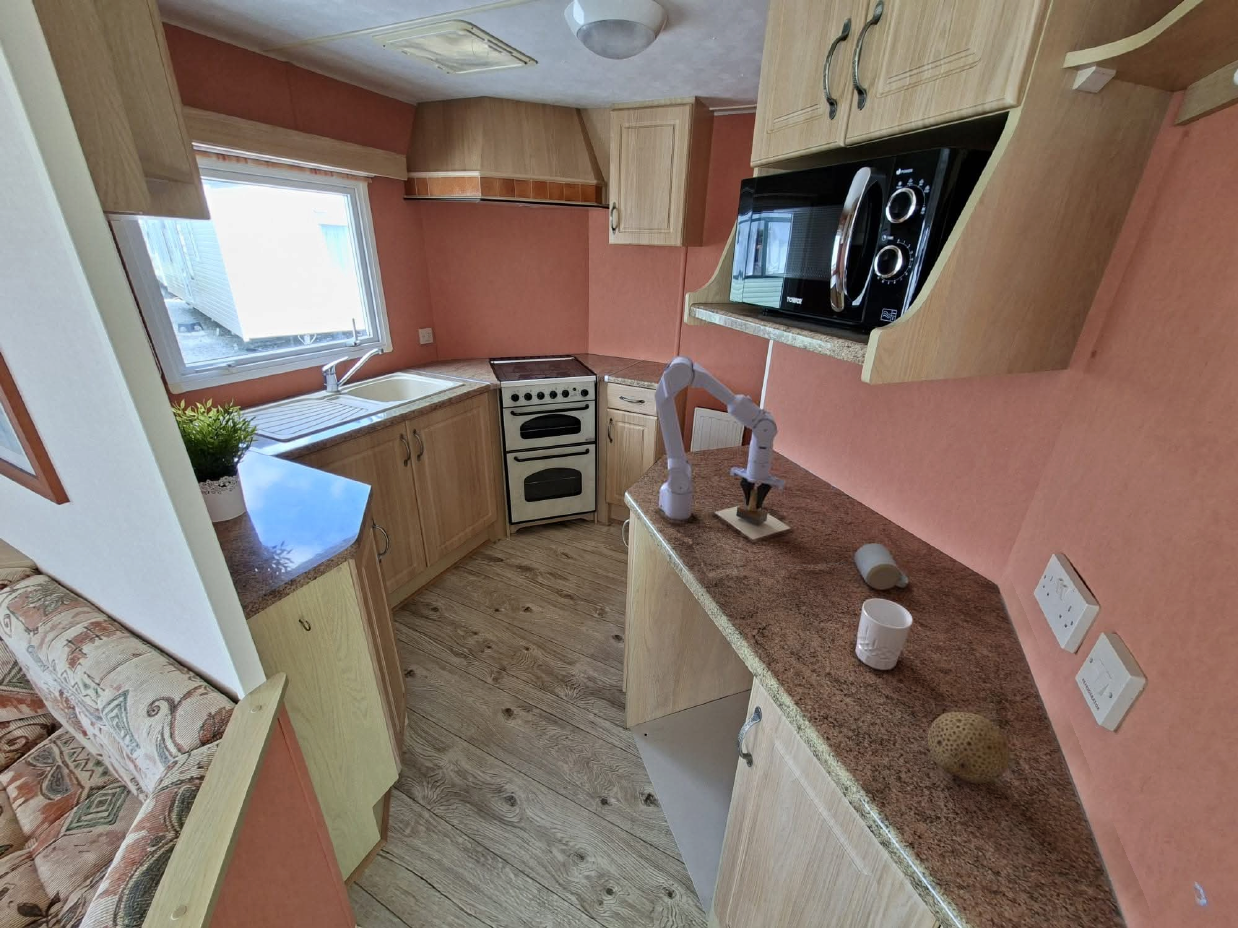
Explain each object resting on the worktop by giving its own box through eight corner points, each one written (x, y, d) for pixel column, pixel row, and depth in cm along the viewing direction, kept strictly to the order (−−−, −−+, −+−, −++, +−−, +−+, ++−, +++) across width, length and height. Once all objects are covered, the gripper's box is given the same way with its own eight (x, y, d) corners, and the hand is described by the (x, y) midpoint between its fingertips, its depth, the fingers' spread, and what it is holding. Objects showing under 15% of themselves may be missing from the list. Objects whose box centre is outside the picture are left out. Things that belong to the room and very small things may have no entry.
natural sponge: (952, 809, 65) (974, 758, 61) (905, 748, 73) (922, 699, 69) (1011, 797, 66) (1036, 746, 63) (958, 739, 75) (978, 690, 71)
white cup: (842, 646, 92) (852, 604, 88) (874, 636, 95) (885, 594, 91) (876, 678, 85) (889, 633, 81) (909, 665, 88) (923, 621, 84)
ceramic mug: (863, 591, 107) (871, 561, 104) (850, 569, 115) (857, 541, 112) (913, 594, 107) (923, 565, 104) (897, 572, 114) (905, 544, 111)
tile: (714, 515, 138) (714, 512, 138) (750, 506, 144) (750, 502, 143) (752, 543, 125) (752, 539, 125) (790, 531, 130) (790, 527, 130)
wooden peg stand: (736, 515, 134) (740, 488, 131) (744, 511, 137) (748, 484, 134) (758, 525, 129) (763, 496, 127) (766, 521, 132) (771, 492, 129)
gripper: (727, 457, 128) (722, 503, 134) (780, 471, 120) (773, 520, 125) (739, 449, 133) (734, 494, 139) (791, 463, 125) (784, 510, 130)
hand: (753, 506), depth 132 cm, fingers closed on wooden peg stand, 2 cm apart
